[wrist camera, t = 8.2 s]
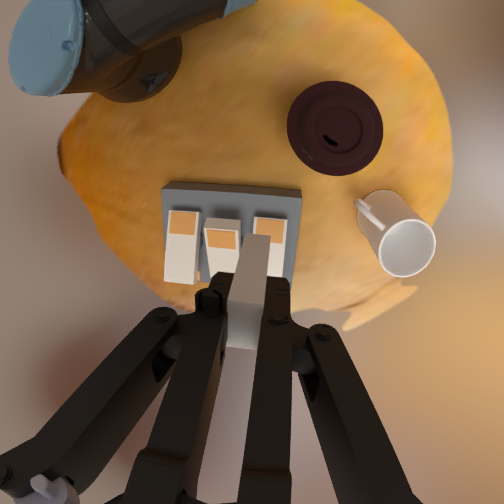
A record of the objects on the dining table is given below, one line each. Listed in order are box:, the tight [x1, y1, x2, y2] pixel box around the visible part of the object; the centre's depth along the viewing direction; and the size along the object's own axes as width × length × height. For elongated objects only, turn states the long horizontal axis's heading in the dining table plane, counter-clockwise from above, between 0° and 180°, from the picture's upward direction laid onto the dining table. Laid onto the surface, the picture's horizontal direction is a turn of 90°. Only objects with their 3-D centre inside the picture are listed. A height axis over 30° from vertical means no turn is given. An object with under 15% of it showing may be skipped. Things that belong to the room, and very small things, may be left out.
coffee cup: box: [287, 81, 383, 176], centre depth 33 cm, size 10×10×15 cm
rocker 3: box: [253, 217, 287, 277], centre depth 42 cm, size 10×4×2 cm, turn 175°
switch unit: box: [161, 182, 302, 291], centre depth 46 cm, size 15×20×5 cm
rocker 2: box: [204, 218, 241, 277], centre depth 42 cm, size 10×4×2 cm, turn 179°
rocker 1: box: [164, 210, 202, 285], centre depth 43 cm, size 10×4×2 cm, turn 175°
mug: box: [354, 190, 436, 277], centre depth 39 cm, size 12×8×12 cm
